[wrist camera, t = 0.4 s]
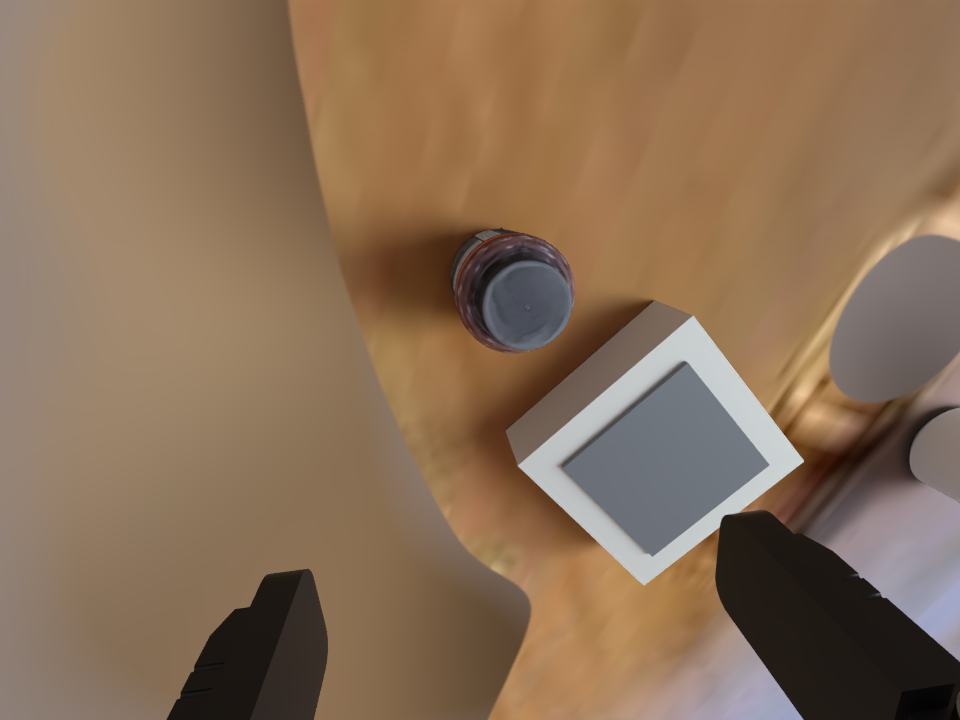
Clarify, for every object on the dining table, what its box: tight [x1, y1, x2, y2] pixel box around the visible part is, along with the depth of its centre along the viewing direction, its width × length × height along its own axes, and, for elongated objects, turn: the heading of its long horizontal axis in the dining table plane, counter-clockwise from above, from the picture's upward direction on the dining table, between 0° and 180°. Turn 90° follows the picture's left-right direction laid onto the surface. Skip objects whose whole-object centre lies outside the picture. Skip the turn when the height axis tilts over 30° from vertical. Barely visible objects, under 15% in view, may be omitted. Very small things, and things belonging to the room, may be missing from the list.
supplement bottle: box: [450, 228, 575, 353], centre depth 26 cm, size 6×6×11 cm
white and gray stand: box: [506, 300, 804, 585], centre depth 33 cm, size 14×14×5 cm
